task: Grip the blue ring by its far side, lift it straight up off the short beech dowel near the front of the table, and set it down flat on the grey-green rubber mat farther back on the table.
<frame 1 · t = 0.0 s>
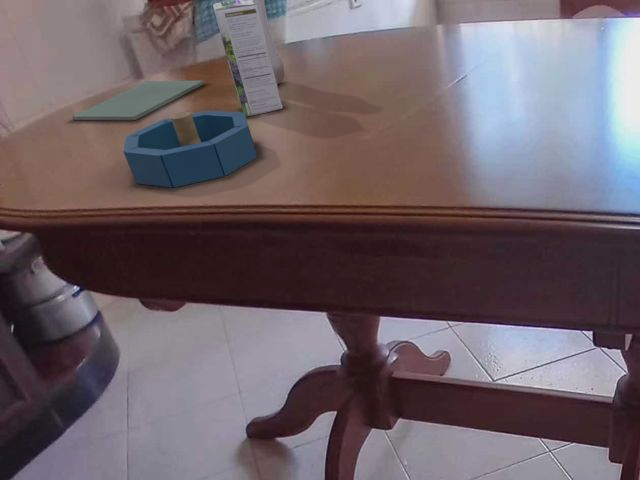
rubber mat: (141, 101, 115), on the table
dowel stand: (197, 162, 89), on the table
plastic bottle: (268, 87, 115), on the table
syrup box: (263, 109, 105), on the table
blue ring: (197, 162, 89), on the table
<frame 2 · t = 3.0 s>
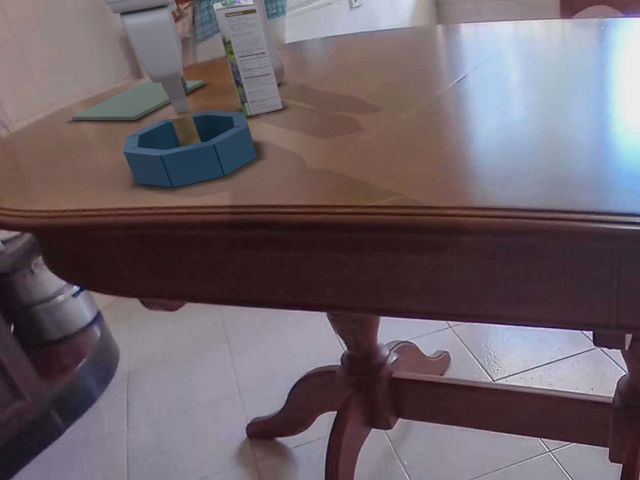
hand: (182, 101, 90), 6 cm above the table, tool pointing down, fingers open, 8 cm apart
nothing on the table moved.
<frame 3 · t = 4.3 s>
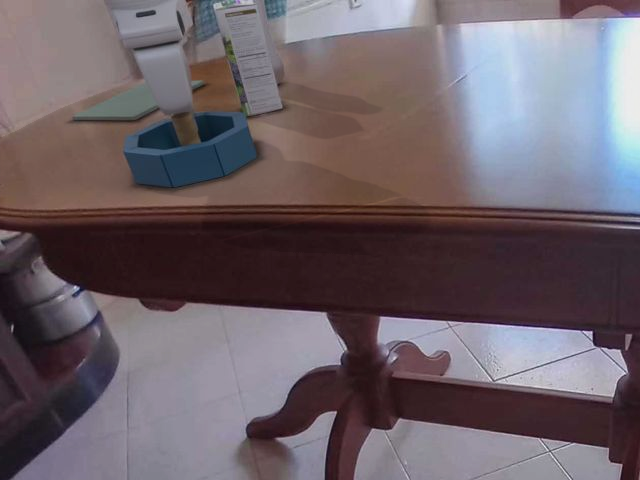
hand: (191, 129, 92), 2 cm above the table, tool pointing down, fingers closed on blue ring, 2 cm apart
blue ring: (197, 162, 89), on the table, touching gripper
everything else where it was.
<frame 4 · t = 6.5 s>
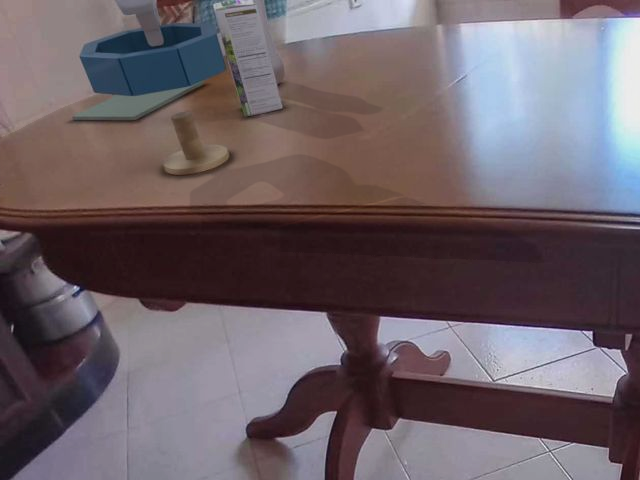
hand: (157, 42, 86), 13 cm above the table, tool pointing down, fingers closed on blue ring
blue ring: (162, 75, 82), point 11 cm above the table, touching gripper
everything else where it was.
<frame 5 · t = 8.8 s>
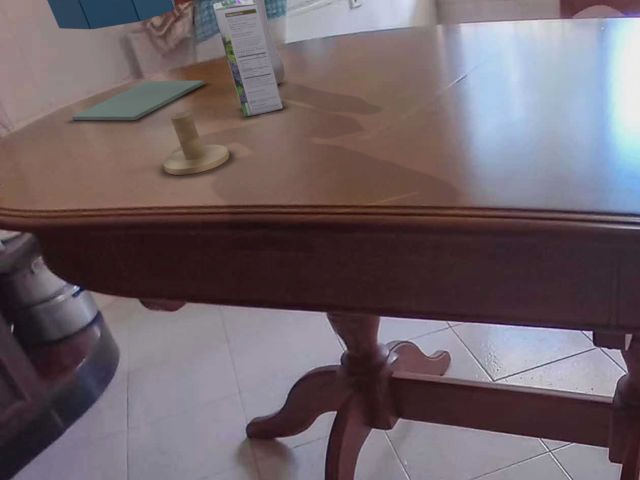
blue ring: (119, 15, 95), point 15 cm above the table, touching gripper
everything else where it was.
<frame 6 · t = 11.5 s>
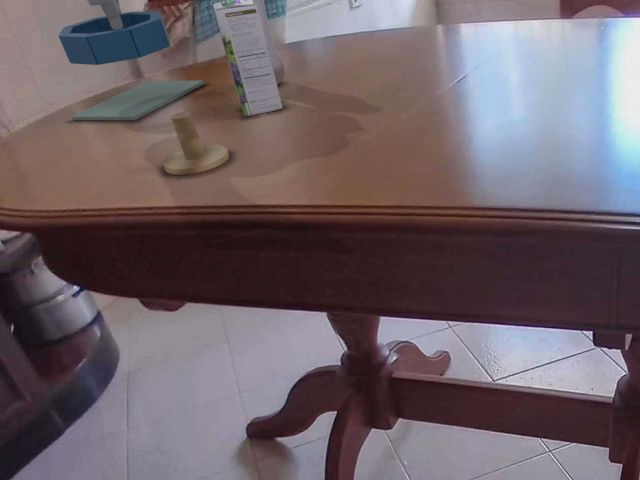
hand: (119, 26, 114), 10 cm above the table, tool pointing down, fingers closed on blue ring
blue ring: (121, 50, 110), point 8 cm above the table, touching gripper
everything else where it was.
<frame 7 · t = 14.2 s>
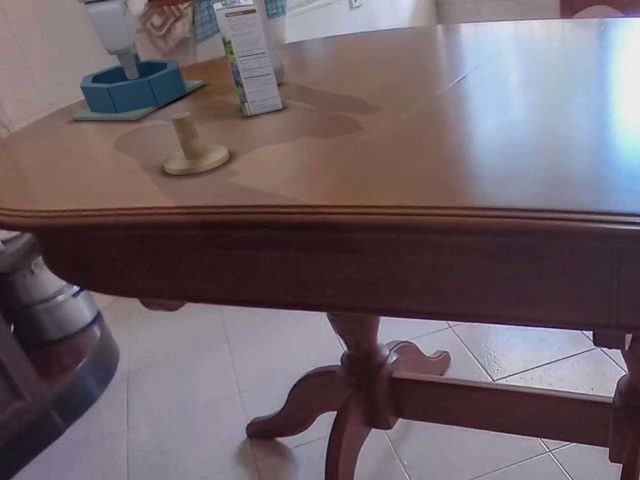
hand: (135, 71, 118), 3 cm above the table, tool pointing down, fingers open, 8 cm apart
blue ring: (139, 97, 114), point 1 cm above the table, touching rubber mat
everything else where it was.
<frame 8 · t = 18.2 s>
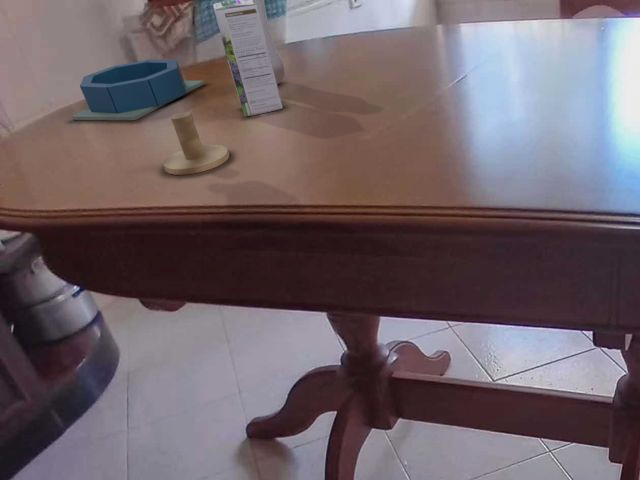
nothing on the table moved.
at the end: blue ring inside the target area on the rubber mat (0.1 cm from its centre), point 0.6 cm above the rubber mat's base; blue ring tilted 0°; the gripper is holding nothing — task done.
